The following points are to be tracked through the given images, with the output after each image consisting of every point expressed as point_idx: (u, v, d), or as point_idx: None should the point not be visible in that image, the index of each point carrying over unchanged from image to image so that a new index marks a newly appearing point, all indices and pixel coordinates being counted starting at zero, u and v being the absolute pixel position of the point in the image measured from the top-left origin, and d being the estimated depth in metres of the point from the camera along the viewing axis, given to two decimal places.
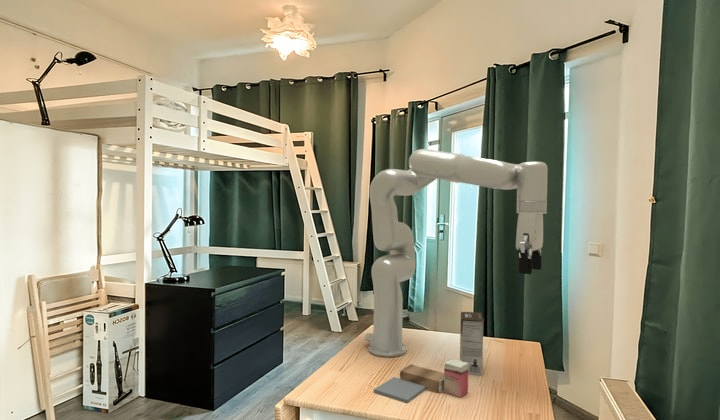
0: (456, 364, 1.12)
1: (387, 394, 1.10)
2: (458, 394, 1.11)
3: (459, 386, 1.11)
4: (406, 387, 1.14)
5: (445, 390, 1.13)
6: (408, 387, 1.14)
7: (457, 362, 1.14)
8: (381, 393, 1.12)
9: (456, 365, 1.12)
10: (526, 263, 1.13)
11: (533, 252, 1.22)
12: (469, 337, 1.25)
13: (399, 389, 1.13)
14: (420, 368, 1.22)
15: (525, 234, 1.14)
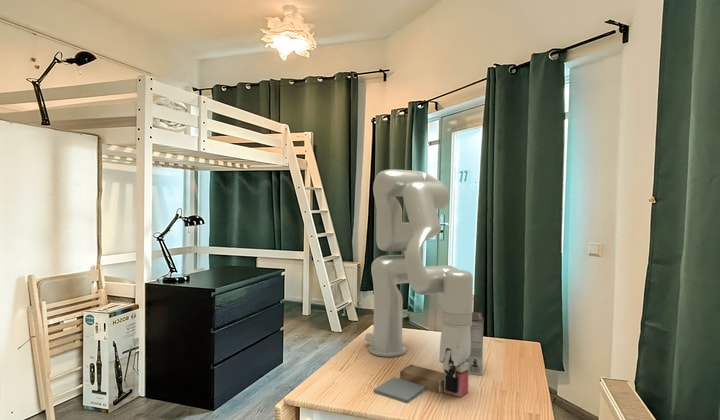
0: None
1: (387, 394, 1.10)
2: (458, 394, 1.11)
3: (459, 386, 1.10)
4: (406, 387, 1.14)
5: (445, 390, 1.13)
6: (408, 387, 1.14)
7: None
8: (381, 393, 1.12)
9: None
10: (452, 382, 1.10)
11: None
12: None
13: (399, 389, 1.13)
14: (420, 368, 1.22)
15: (448, 351, 1.10)
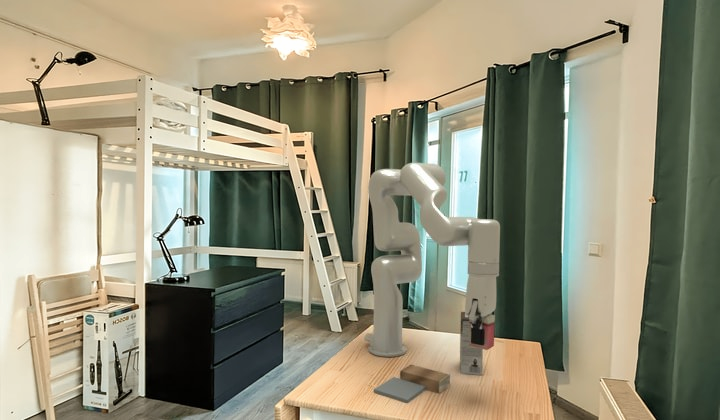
0: None
1: (387, 394, 1.10)
2: (485, 347, 1.06)
3: (486, 338, 1.06)
4: (406, 387, 1.14)
5: (471, 344, 1.09)
6: (408, 387, 1.14)
7: None
8: (381, 393, 1.12)
9: None
10: (478, 334, 1.06)
11: None
12: None
13: (399, 389, 1.13)
14: (420, 368, 1.22)
15: (474, 302, 1.05)
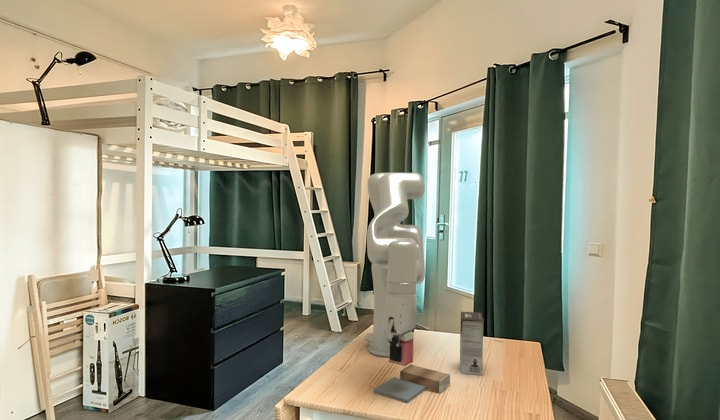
0: None
1: (387, 394, 1.10)
2: (402, 363, 1.11)
3: (403, 355, 1.11)
4: (406, 387, 1.14)
5: (390, 360, 1.13)
6: (408, 387, 1.14)
7: None
8: (381, 393, 1.12)
9: None
10: (395, 351, 1.10)
11: None
12: (469, 337, 1.25)
13: (399, 389, 1.13)
14: (420, 368, 1.22)
15: (391, 320, 1.10)
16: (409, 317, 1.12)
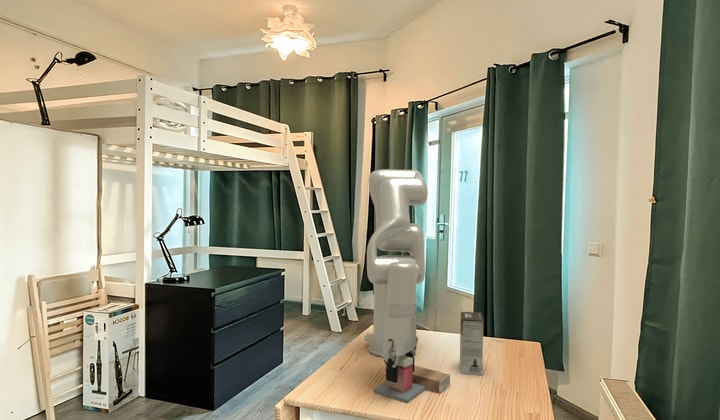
0: (400, 359, 1.13)
1: (387, 394, 1.10)
2: (402, 389, 1.11)
3: (403, 381, 1.11)
4: None
5: (390, 385, 1.14)
6: None
7: (402, 357, 1.14)
8: (381, 393, 1.12)
9: (400, 360, 1.12)
10: (391, 372, 1.09)
11: (407, 353, 1.18)
12: (469, 337, 1.25)
13: None
14: (420, 368, 1.22)
15: (390, 340, 1.10)
16: (409, 339, 1.12)
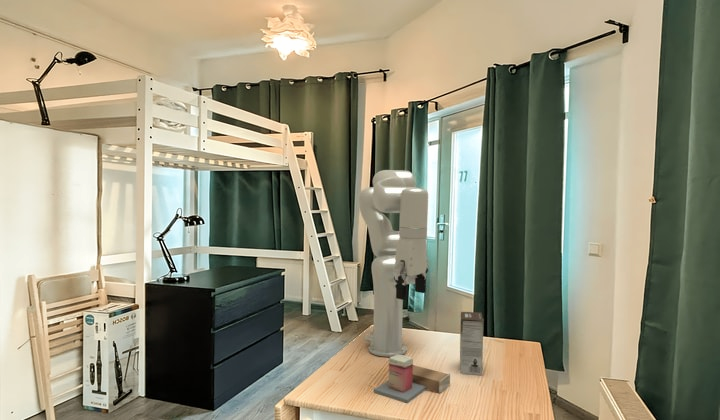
0: (400, 359, 1.13)
1: (387, 394, 1.10)
2: (402, 389, 1.11)
3: (403, 381, 1.11)
4: None
5: (390, 385, 1.14)
6: None
7: (402, 357, 1.14)
8: (381, 393, 1.12)
9: (400, 360, 1.12)
10: (401, 289, 1.15)
11: (419, 275, 1.24)
12: (469, 337, 1.25)
13: None
14: (420, 368, 1.22)
15: (402, 261, 1.15)
16: (419, 261, 1.18)
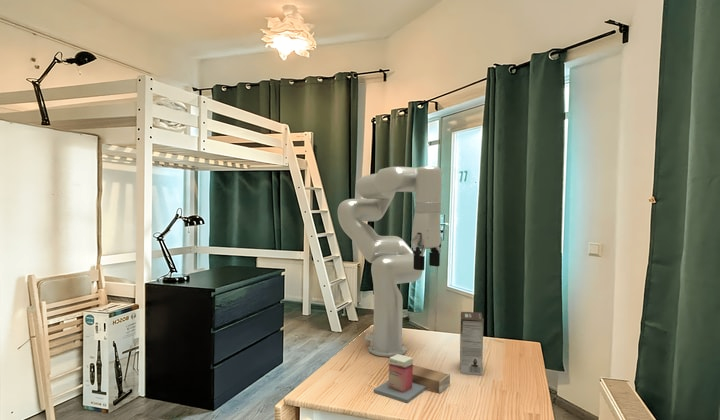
0: (400, 359, 1.13)
1: (387, 394, 1.10)
2: (402, 389, 1.11)
3: (403, 381, 1.11)
4: None
5: (390, 385, 1.14)
6: None
7: (402, 357, 1.14)
8: (381, 393, 1.12)
9: (400, 360, 1.12)
10: (418, 260, 1.22)
11: (433, 250, 1.31)
12: (469, 337, 1.25)
13: None
14: (420, 368, 1.22)
15: (418, 233, 1.23)
16: (434, 234, 1.25)
